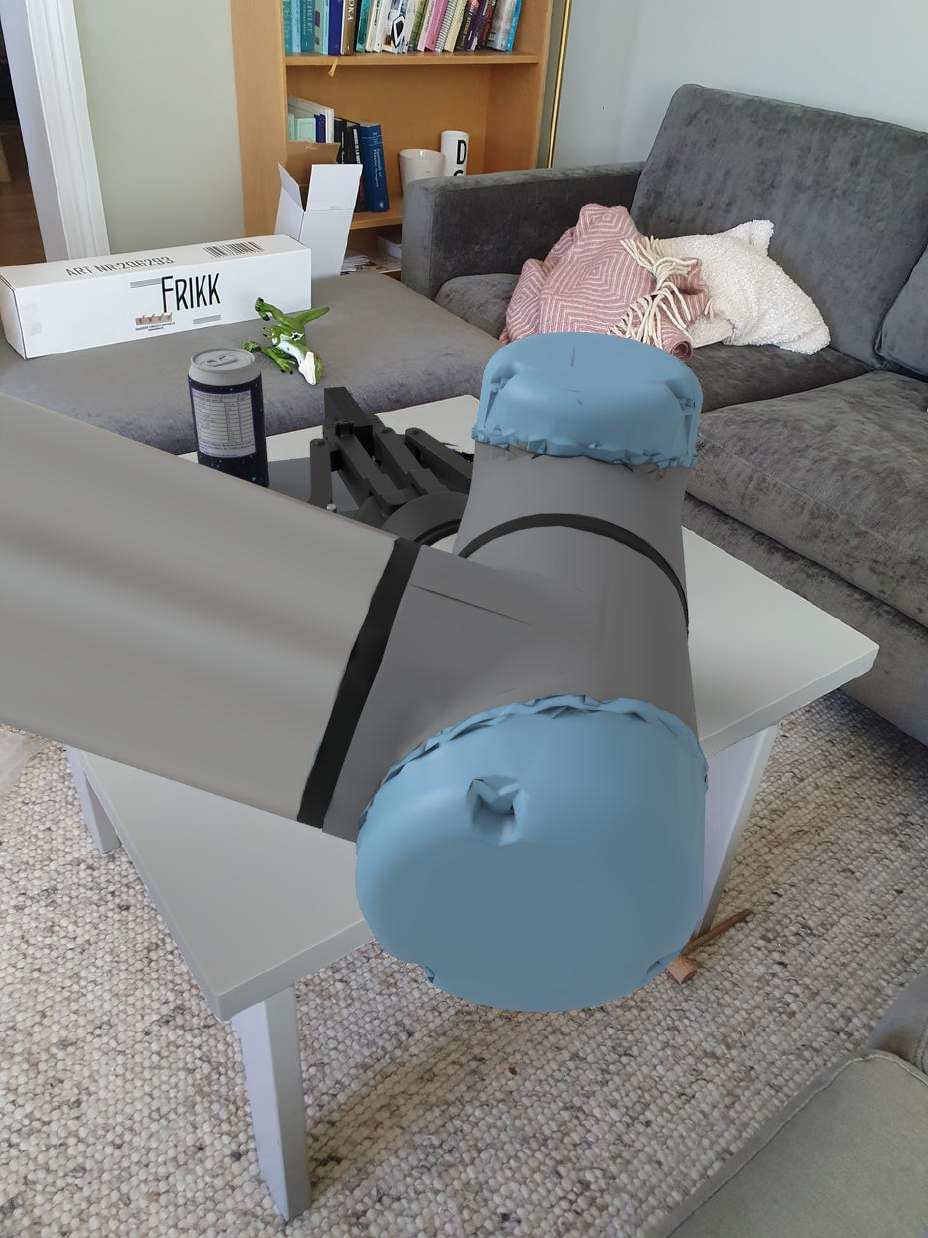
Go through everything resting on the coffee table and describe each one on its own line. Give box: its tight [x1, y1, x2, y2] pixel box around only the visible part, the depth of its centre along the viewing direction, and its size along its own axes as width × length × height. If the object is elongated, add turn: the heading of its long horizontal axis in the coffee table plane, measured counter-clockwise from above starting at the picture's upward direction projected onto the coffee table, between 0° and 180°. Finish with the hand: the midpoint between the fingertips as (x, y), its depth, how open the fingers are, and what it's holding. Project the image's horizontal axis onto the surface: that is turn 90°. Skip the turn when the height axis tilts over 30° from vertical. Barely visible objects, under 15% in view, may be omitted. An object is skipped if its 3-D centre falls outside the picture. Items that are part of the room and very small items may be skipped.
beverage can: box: [187, 346, 269, 488], centre depth 75 cm, size 6×6×12 cm
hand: (334, 405), depth 64 cm, fingers closed
